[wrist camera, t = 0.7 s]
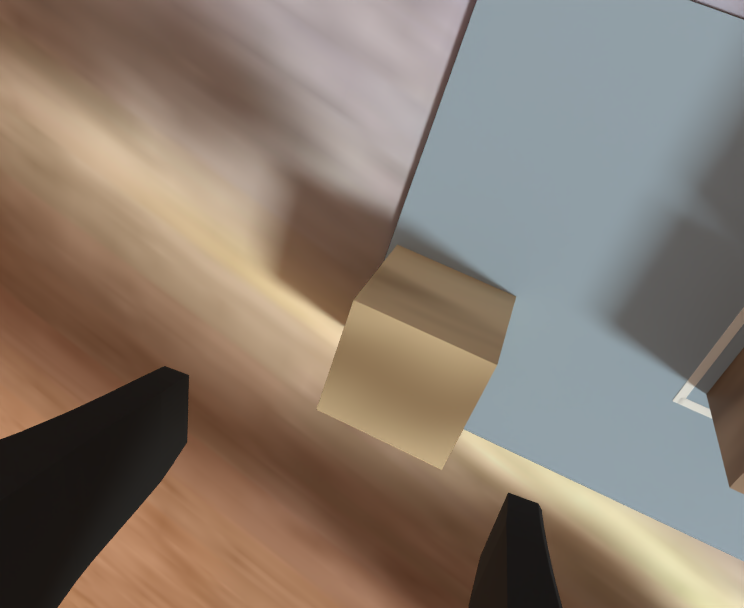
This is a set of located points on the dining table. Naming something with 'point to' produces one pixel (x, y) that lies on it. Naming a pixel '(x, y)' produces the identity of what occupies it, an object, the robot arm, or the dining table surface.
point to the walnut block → (730, 420)
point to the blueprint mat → (600, 239)
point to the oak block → (416, 355)
